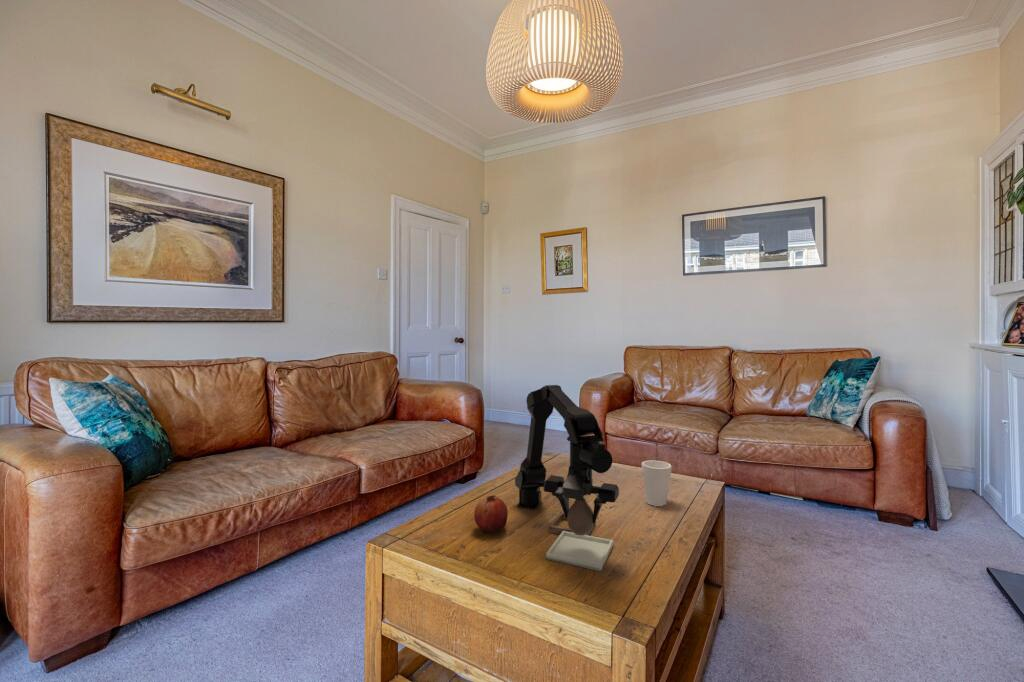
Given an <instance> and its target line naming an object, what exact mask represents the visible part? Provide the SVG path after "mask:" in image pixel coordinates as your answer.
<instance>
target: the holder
mask: <svg viewBox="0 0 1024 682" xmlns="http://www.w3.org/2000/svg"><path fill="white" fill-rule="evenodd" d="M562 521H567V519H566V518H565V515H564V512H563V511H560V512H559V513H558V514H557V515H556V516H555V518H554V519H553V520H552V522H551V523H549V525H548V533H550V534H555V535H558V536H560V534H561V533H562V532H563V531H567V532H572V531H571V530H570V528H569V527H564V526H559V524H560V523H561V522H562ZM596 525H597V521H596V522H595V524H594V525H593V528H592V530H591V531H590V532H589V533H588V534H587V535H588V536H590V534H591V532H593V530H594V528H595V526H596ZM572 533H573V532H572Z"/></svg>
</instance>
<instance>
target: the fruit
mask: <svg viewBox="0 0 1024 682" xmlns="http://www.w3.org/2000/svg"><path fill="white" fill-rule="evenodd" d="M473 514H474V515H473V516H474V522H475V524H476V526H477V527H478V528H479V529H480V530H482V531H483V530H484V531H485V532H487V533H496V532H499V531H501V530H503V529H504V528H505V527H506V525H507V521H508V517H509V516H508V515H509V514H508V507H507V505H506V503H505V501H503V500H502V499H501V498H499V497H497V496H496V495H489V496H486V498H483V499H482V500H480V501H478V502H477V504H476V506H475V507H474V513H473Z"/></svg>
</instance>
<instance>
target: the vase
mask: <svg viewBox="0 0 1024 682" xmlns="http://www.w3.org/2000/svg"><path fill="white" fill-rule="evenodd" d="M593 513H594V510H593V509H592V508H591V506H590V505H589V503H588V502H587V500H586V498H585V497H583V499H582V500H576V499H574V502H573V503H572V504H571V506H569V511H568V515H567V520H566V521H567V525H568V528H570V530H571V531H572V532H573V533H574V534H576V535H587V534H588V533H589V532H590V531H591V530H592V531H593V529H594V528H593V525H594V524H593ZM592 528H593V529H592ZM592 531H591V532H592Z"/></svg>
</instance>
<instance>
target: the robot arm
mask: <svg viewBox="0 0 1024 682" xmlns="http://www.w3.org/2000/svg"><path fill="white" fill-rule="evenodd" d="M526 408H527V411H528V413H529V414H530V427H529V435H528V443H527V450H526V451H527V452H526V457H525V458H524V459H523V461H522V462H521V463H520V466H519V471H518V472H517V474H516V476H515V478H514V483H515V487H516V488H517V489H518V490H519V491H518V493H519V495H518V503H517V505H516V507H518V506H519V507H518V508H524V509H529V510H536V509H537V508H538V507H539V506H540V505H541V504H542V503H543V500H542V491H541V488H543V492H545V493H551V495H552V496H553V497H555V498H557V500H558V501H559V504H560V506H561V509H562V512H564V515H565V518H566V519H567V515H568V511H569V508H570V500H569V499H573V500H582V499H583V498H585V497H586V496H591V495H592V494H593V495H595V496H596V497H595V498H594V500H593V505H594V506H593V524H595V522H596V523H597V520H598V517H599V514H600V511H601V509H602V506H603V505H605V504H607V502H608V503H615V502H616V501H617V499H618V498H619V495H620V488H619V486H618V485H617V484H614V483H607V482H603V483H602V485H601V486H597V485H596V486H595V485H593V471H595V472H596V473H597V474H604V473H606V472H608V471H609V470H610V468H611V467H612V464H613V457H612V454H611V452H610V451H609V450H607V449H606V444H605V443H602V442H604V437H603V435H604V434H603V432H602V430H601V428H600V425H599V423H598V420H597V418H596V416H595V415H594V413H593V412H591V411H590V410H588V409H586V408H583V407H579V406H577V404H575V402H574V401H573V400H572V399H571V398H570V397H569V396H568V394H566V393H565V392H564V391H563V390H562V387H561V386H560V385H558V384H549V385H548V384H547V385H546V384H545V385H543V386H542V387H541V388H539V389H536V390H533V391H530V393H528V394H527V397H526ZM554 409H555V410H556V411H557V413H559V415H560V416H561V417H562V418H563V420H564V423H563V426H564V428H565V431H566V432H567V434H568V436H567V437H566V440H567V441H568V442H569V467H568V473H567V474H566V478H565V477H564V476H558V475H550V476H549V477H548V478H547V468H546V467H545V466H544V464H543V462H542V460H543V451H544V445H545V444H544V443H545V442H544V441H545V435H546V434H545V433H546V427H547V420H548V419H549V417H550V416H551V415H552V414H553V412H554ZM546 478H547V479H546ZM584 496H585V497H584ZM595 525H596V524H595Z"/></svg>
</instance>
